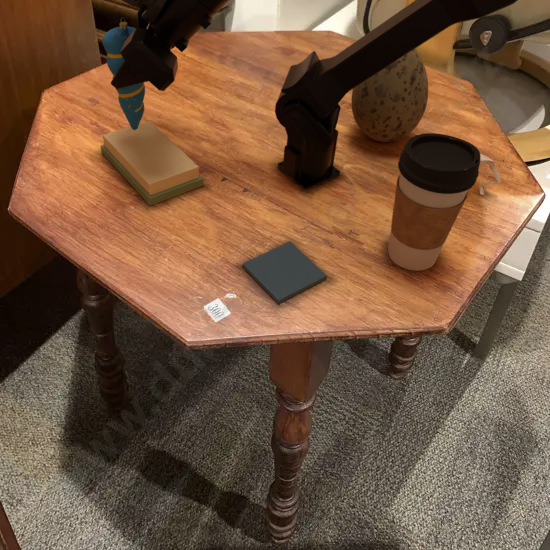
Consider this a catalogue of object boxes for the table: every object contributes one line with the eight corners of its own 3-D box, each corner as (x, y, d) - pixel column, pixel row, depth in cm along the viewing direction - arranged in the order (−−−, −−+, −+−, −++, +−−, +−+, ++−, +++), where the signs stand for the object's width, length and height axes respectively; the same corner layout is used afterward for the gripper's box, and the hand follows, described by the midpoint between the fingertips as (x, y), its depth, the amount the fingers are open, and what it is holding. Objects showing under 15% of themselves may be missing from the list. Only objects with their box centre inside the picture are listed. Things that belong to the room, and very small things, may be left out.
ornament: (108, 131, 82) (89, 19, 71) (132, 115, 85) (118, 6, 75) (138, 143, 80) (123, 30, 70) (162, 126, 83) (151, 16, 73)
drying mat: (289, 244, 73) (289, 241, 73) (326, 279, 70) (327, 275, 69) (242, 266, 70) (242, 263, 70) (278, 304, 67) (278, 300, 66)
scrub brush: (152, 136, 88) (150, 118, 86) (203, 185, 81) (203, 167, 79) (101, 152, 85) (98, 134, 82) (150, 206, 77) (148, 187, 75)
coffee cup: (430, 289, 70) (467, 183, 59) (365, 258, 73) (389, 152, 62) (457, 249, 75) (495, 145, 64) (395, 222, 78) (422, 118, 67)
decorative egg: (332, 127, 93) (345, 30, 82) (388, 112, 97) (408, 18, 86) (372, 164, 86) (393, 64, 76) (431, 147, 91) (458, 50, 80)
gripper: (159, -91, 72) (82, -1, 80) (129, -37, 59) (41, 65, 67) (226, -18, 78) (149, 60, 85) (212, 46, 65) (122, 131, 72)
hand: (117, 76), depth 77 cm, fingers closed on ornament, 5 cm apart
